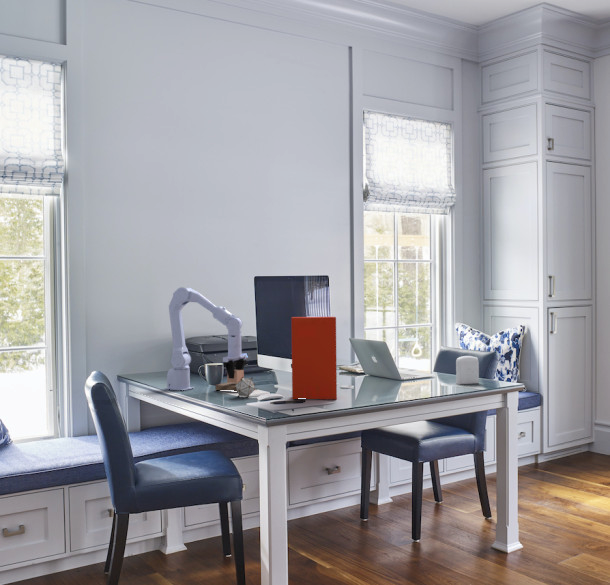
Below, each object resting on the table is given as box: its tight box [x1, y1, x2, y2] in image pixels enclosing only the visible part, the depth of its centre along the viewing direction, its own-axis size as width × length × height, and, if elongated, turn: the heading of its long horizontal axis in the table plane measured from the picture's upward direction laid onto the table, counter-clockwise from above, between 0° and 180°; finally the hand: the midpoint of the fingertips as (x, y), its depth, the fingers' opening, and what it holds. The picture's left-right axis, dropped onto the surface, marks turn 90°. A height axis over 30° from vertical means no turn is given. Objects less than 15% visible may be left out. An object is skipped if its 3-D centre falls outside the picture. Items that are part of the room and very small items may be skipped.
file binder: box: [291, 316, 338, 400], centre depth 287 cm, size 8×17×32 cm, turn 91°
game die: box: [233, 376, 258, 398], centre depth 292 cm, size 9×8×10 cm
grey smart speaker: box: [455, 355, 480, 385], centre depth 324 cm, size 10×4×12 cm, turn 101°
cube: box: [226, 369, 245, 383], centre depth 311 cm, size 5×5×5 cm
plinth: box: [214, 381, 256, 391], centre depth 311 cm, size 12×12×2 cm
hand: (235, 377), depth 311 cm, fingers closed on cube, 5 cm apart
